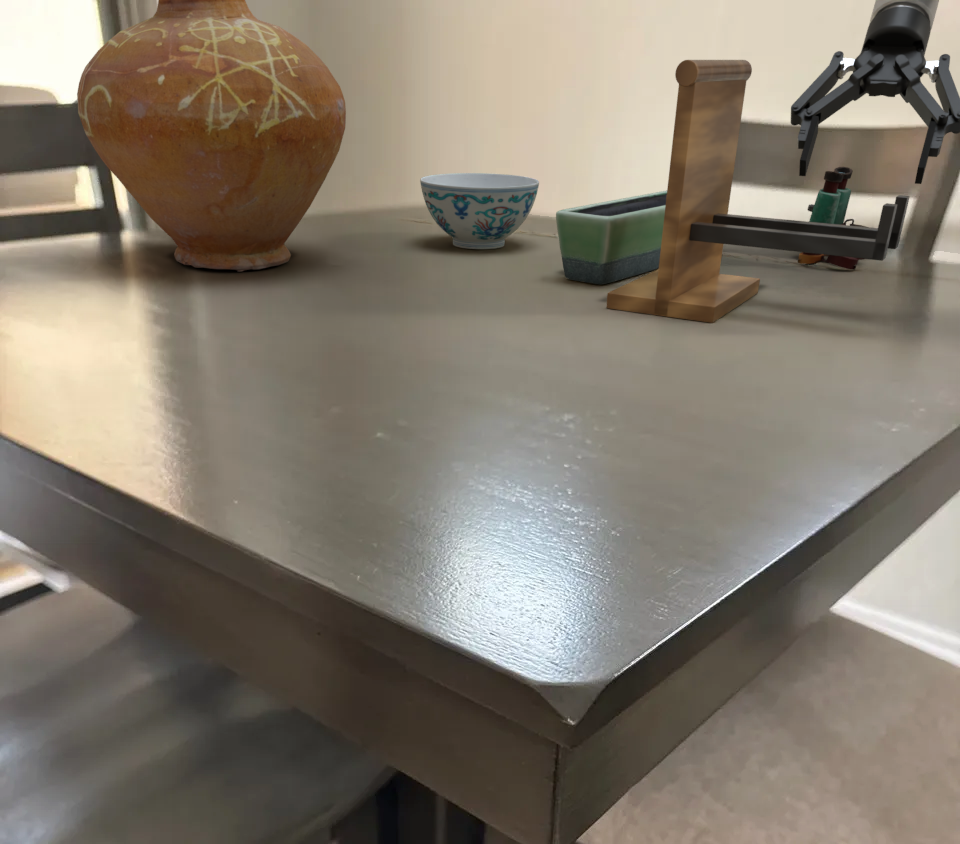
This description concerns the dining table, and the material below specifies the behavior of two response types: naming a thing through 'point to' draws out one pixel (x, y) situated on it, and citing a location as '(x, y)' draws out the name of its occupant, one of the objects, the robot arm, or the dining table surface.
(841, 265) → the binoculars
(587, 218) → the planter
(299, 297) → the dining table surface
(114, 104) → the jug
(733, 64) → the hook rack
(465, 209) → the chinaware
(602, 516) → the dining table surface
